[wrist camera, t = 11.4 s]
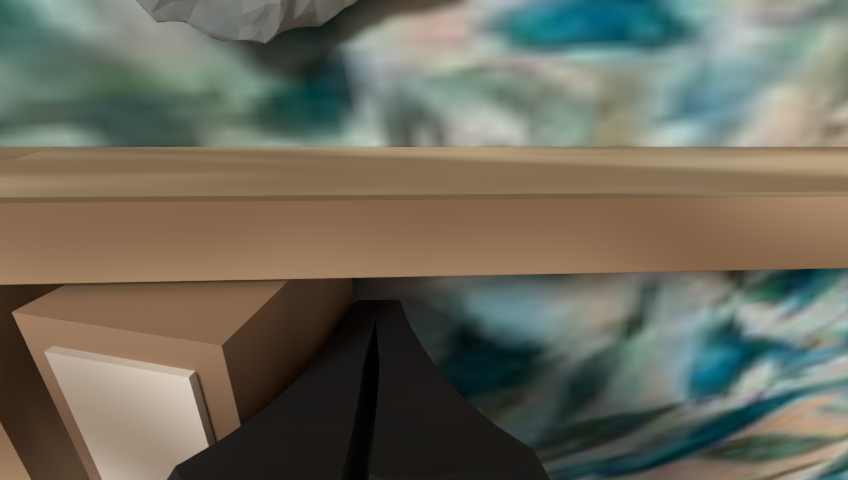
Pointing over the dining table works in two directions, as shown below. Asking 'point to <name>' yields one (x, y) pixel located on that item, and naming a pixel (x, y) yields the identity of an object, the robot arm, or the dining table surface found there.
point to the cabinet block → (173, 361)
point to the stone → (245, 16)
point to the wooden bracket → (383, 227)
